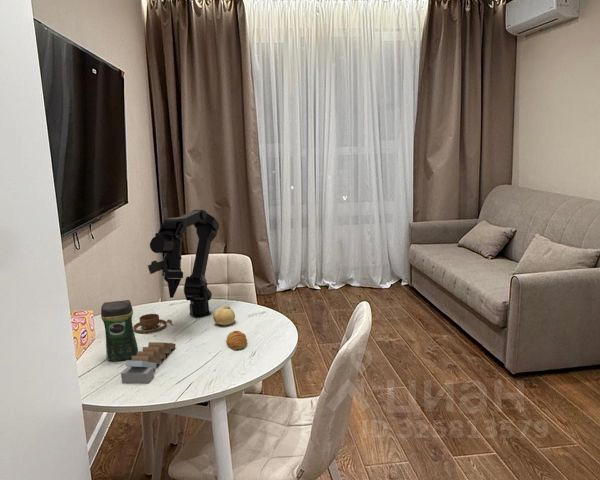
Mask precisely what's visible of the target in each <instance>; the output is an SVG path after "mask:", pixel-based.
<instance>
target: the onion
mask: <svg viewBox="0 0 600 480" xmlns="http://www.w3.org/2000/svg"><path fill="white" fill-rule="evenodd" d="M212 319H213V322H215V324H217V326H220V327H221V326H229V325H231V324H233V322H235V320H236V313H235V311H234V310H233V309H232V308H231V306H230V304H227V306H220V307H218V308H217V309H216V310H215V311H214V312H213V315H212Z"/></svg>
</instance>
